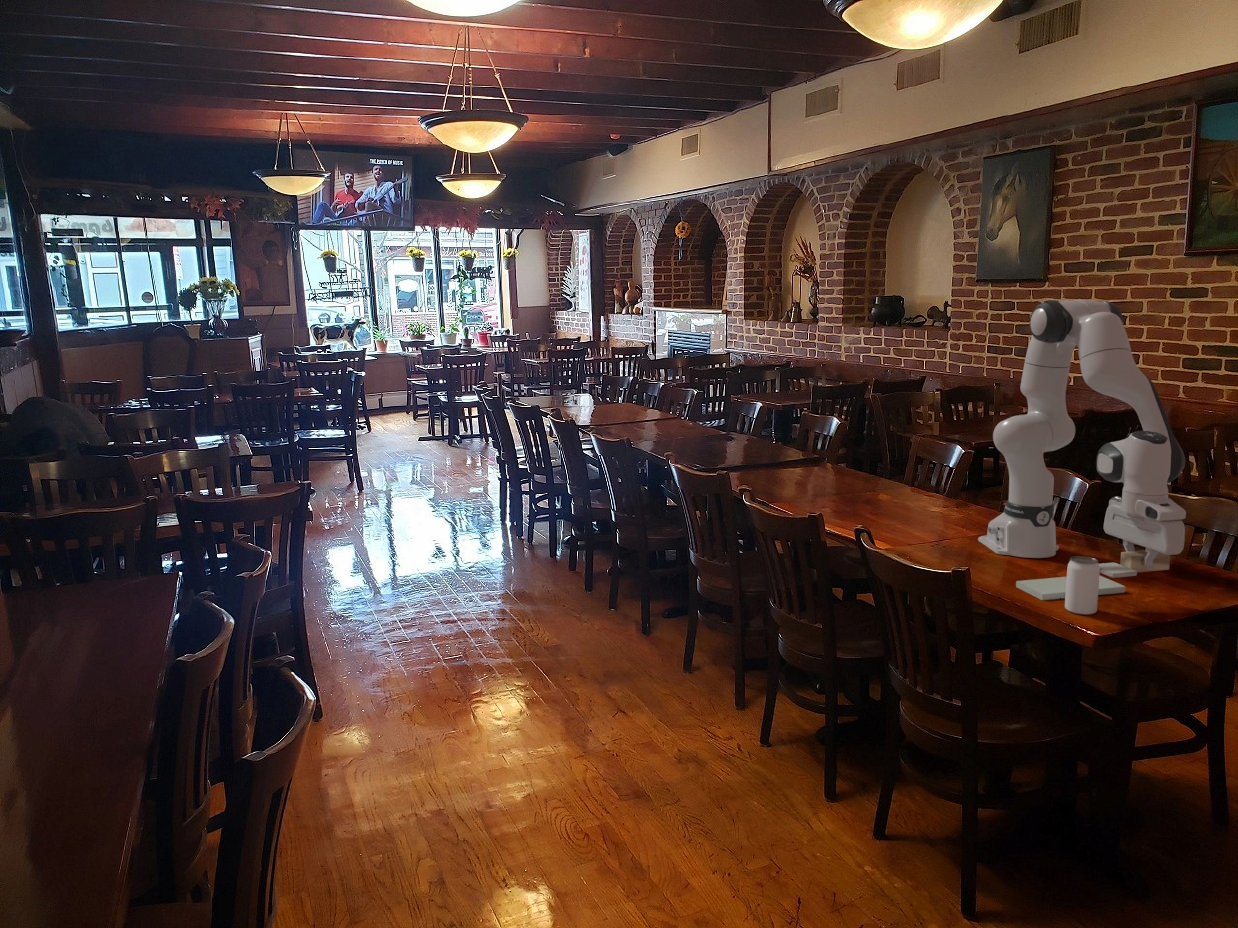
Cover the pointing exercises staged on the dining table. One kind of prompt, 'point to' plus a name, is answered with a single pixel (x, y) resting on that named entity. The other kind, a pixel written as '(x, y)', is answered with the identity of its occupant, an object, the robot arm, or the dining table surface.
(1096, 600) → the can
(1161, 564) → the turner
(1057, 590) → the rest board
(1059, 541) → the dining table surface
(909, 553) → the dining table surface
